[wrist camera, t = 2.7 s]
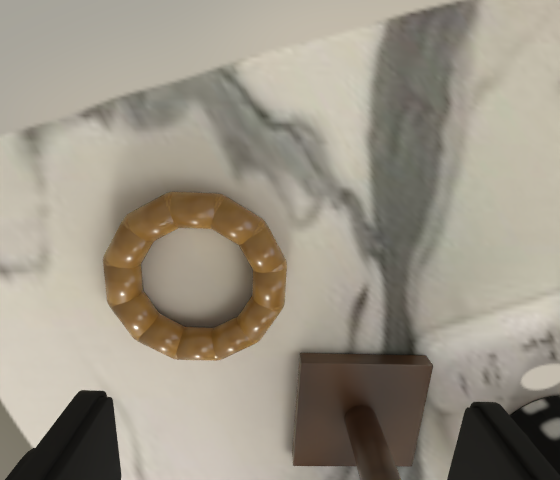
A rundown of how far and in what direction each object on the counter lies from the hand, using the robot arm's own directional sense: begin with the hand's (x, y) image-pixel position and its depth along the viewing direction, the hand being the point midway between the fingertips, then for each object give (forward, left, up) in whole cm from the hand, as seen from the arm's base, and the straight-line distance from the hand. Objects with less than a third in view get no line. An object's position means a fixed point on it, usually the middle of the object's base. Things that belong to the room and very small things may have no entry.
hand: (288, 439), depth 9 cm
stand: (+6, -9, -11) cm, 15 cm away
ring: (-4, 0, -10) cm, 11 cm away
